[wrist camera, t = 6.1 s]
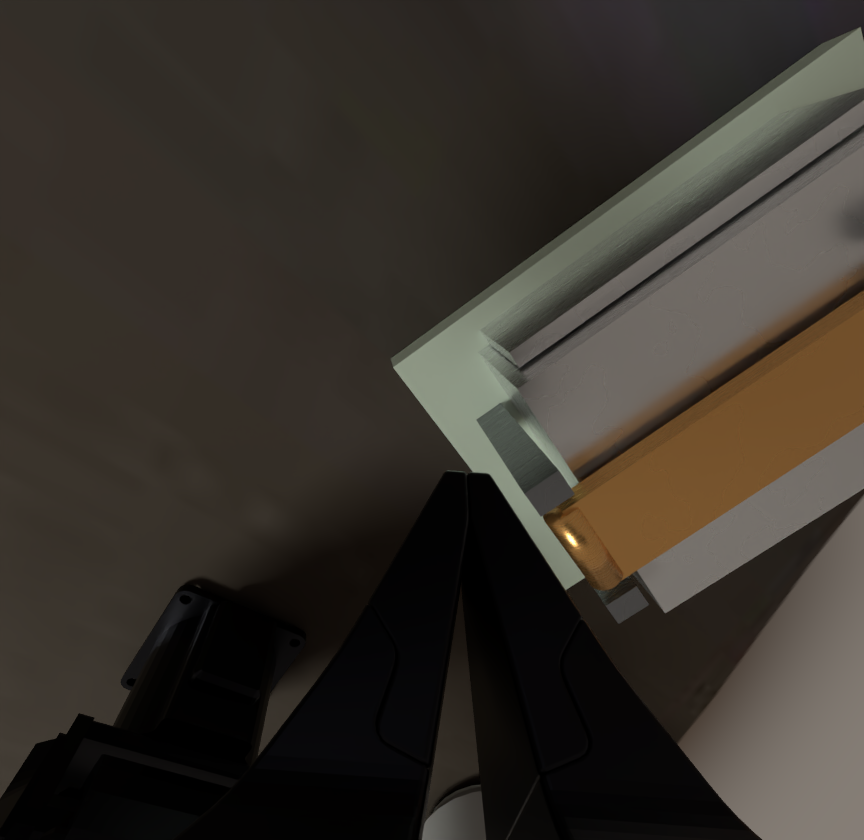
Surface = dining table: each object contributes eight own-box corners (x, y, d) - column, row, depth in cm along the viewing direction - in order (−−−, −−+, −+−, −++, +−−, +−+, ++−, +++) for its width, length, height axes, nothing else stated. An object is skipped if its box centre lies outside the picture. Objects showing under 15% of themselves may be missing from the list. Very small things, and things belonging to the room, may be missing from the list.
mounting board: (552, 571, 25) (564, 591, 23) (391, 358, 20) (393, 367, 18) (901, 343, 23) (936, 349, 22) (821, 43, 18) (860, 27, 17)
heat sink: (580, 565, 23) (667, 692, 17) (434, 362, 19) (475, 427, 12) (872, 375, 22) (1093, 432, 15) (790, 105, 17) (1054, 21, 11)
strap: (585, 576, 17) (601, 600, 16) (534, 507, 15) (548, 527, 14) (966, 327, 15) (1013, 333, 14) (945, 228, 14) (995, 226, 13)
